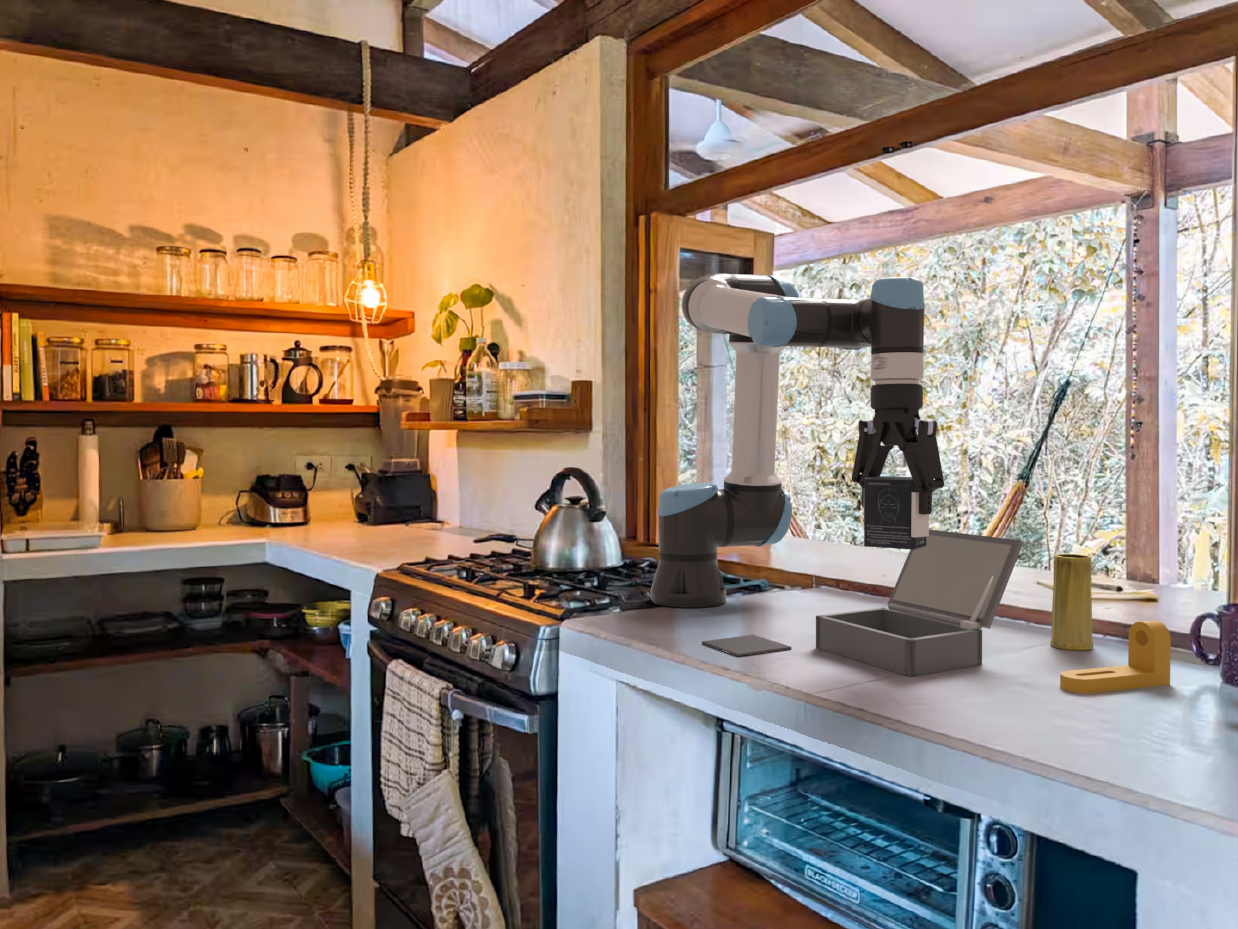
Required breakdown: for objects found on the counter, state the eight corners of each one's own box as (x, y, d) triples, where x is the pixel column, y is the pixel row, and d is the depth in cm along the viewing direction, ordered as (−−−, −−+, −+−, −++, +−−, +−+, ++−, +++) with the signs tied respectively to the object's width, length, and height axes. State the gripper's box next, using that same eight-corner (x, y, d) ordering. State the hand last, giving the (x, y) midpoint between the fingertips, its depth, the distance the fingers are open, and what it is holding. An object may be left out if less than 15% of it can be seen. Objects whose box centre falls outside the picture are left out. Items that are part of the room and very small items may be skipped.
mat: (702, 643, 151) (702, 641, 151) (753, 637, 156) (753, 634, 156) (738, 656, 142) (738, 654, 142) (791, 649, 147) (791, 646, 147)
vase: (1090, 643, 149) (1091, 554, 149) (1096, 652, 144) (1097, 559, 143) (1048, 641, 151) (1049, 552, 151) (1052, 649, 146) (1053, 557, 145)
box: (926, 546, 142) (927, 476, 142) (914, 551, 137) (915, 478, 137) (876, 543, 147) (876, 474, 146) (862, 547, 142) (863, 476, 141)
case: (815, 647, 148) (815, 535, 147) (921, 632, 158) (922, 528, 158) (910, 676, 130) (910, 549, 130) (1022, 657, 141) (1023, 540, 140)
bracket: (1143, 677, 130) (1143, 617, 129) (1170, 685, 125) (1170, 624, 125) (1052, 687, 125) (1053, 624, 125) (1077, 695, 121) (1078, 631, 121)
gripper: (828, 385, 149) (827, 527, 150) (934, 379, 129) (932, 543, 130) (864, 385, 152) (863, 524, 153) (973, 380, 133) (971, 539, 134)
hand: (895, 533), depth 142 cm, fingers closed on box, 9 cm apart
